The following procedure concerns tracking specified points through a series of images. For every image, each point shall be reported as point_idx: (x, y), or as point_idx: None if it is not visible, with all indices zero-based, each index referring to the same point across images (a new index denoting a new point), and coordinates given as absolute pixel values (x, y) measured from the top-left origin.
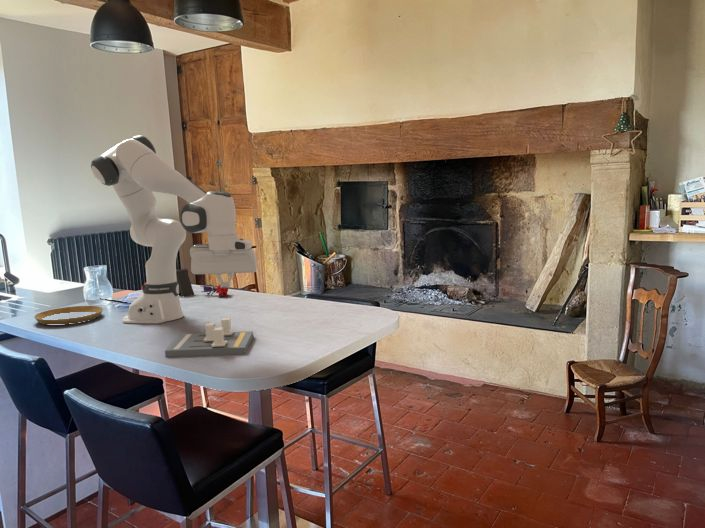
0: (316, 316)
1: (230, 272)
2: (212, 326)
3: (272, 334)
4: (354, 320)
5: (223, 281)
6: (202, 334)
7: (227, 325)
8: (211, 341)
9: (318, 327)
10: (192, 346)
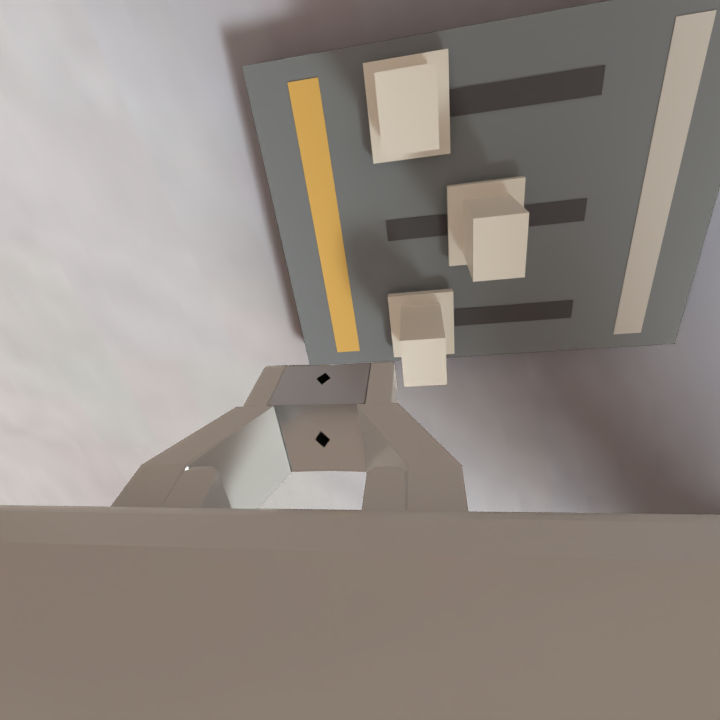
0: None
1: (76, 512)
2: (476, 216)
3: (247, 380)
4: (35, 503)
5: (364, 468)
6: (552, 329)
7: (408, 324)
8: None
9: (111, 447)
10: (581, 84)
